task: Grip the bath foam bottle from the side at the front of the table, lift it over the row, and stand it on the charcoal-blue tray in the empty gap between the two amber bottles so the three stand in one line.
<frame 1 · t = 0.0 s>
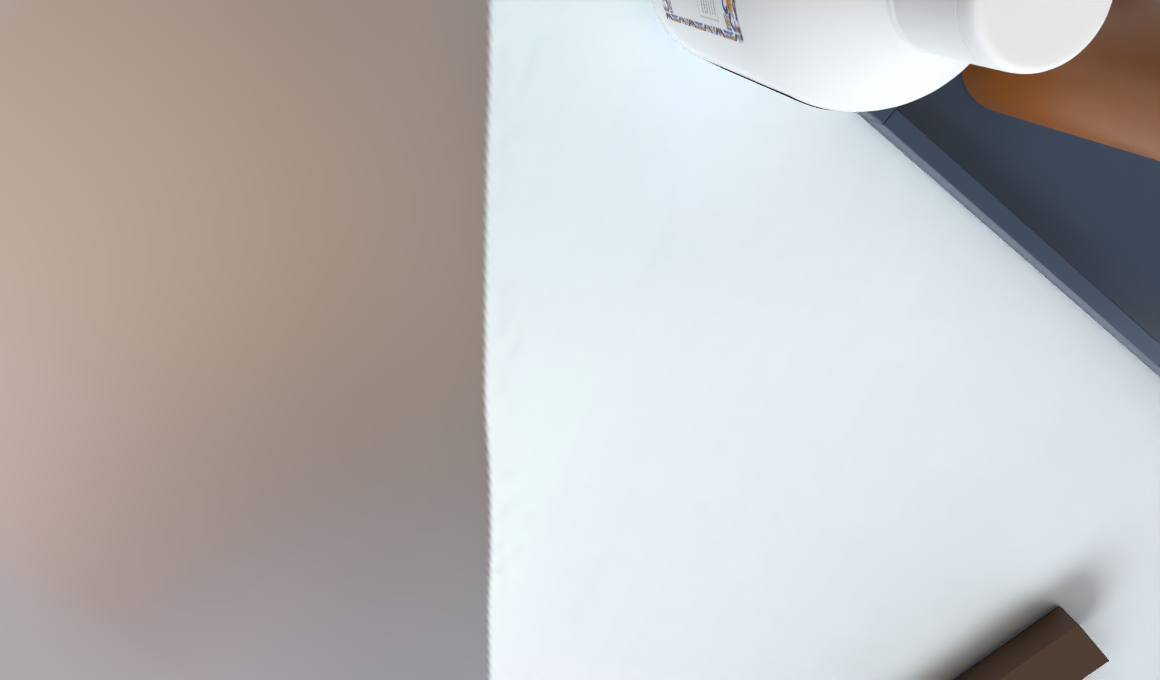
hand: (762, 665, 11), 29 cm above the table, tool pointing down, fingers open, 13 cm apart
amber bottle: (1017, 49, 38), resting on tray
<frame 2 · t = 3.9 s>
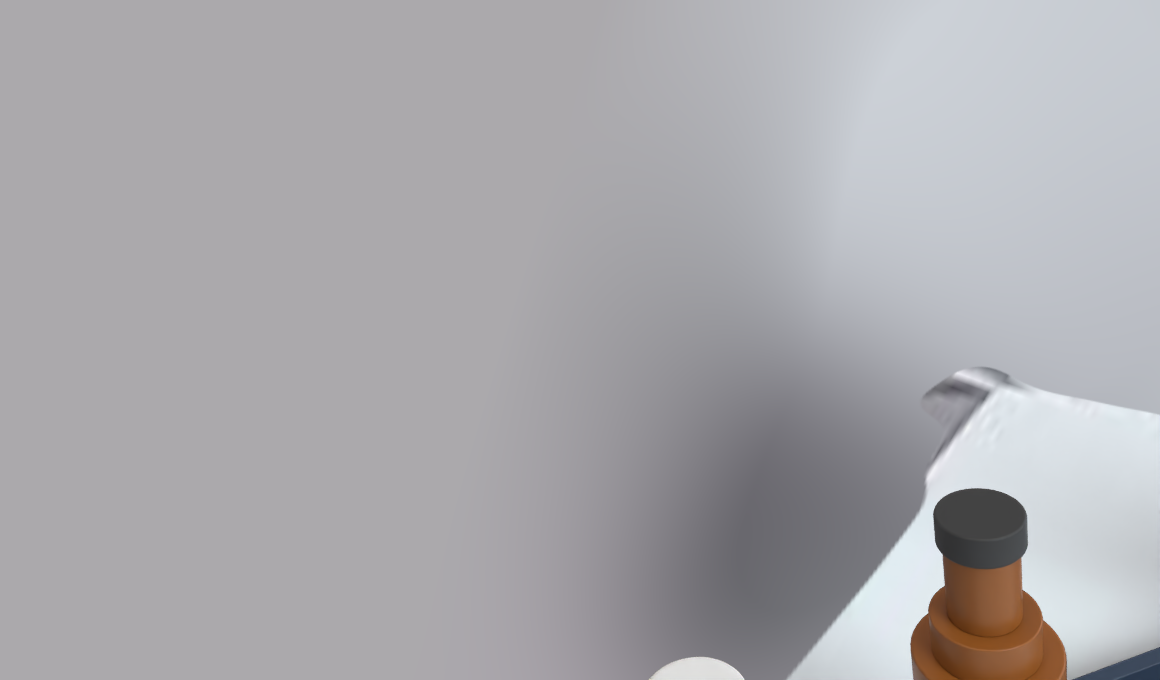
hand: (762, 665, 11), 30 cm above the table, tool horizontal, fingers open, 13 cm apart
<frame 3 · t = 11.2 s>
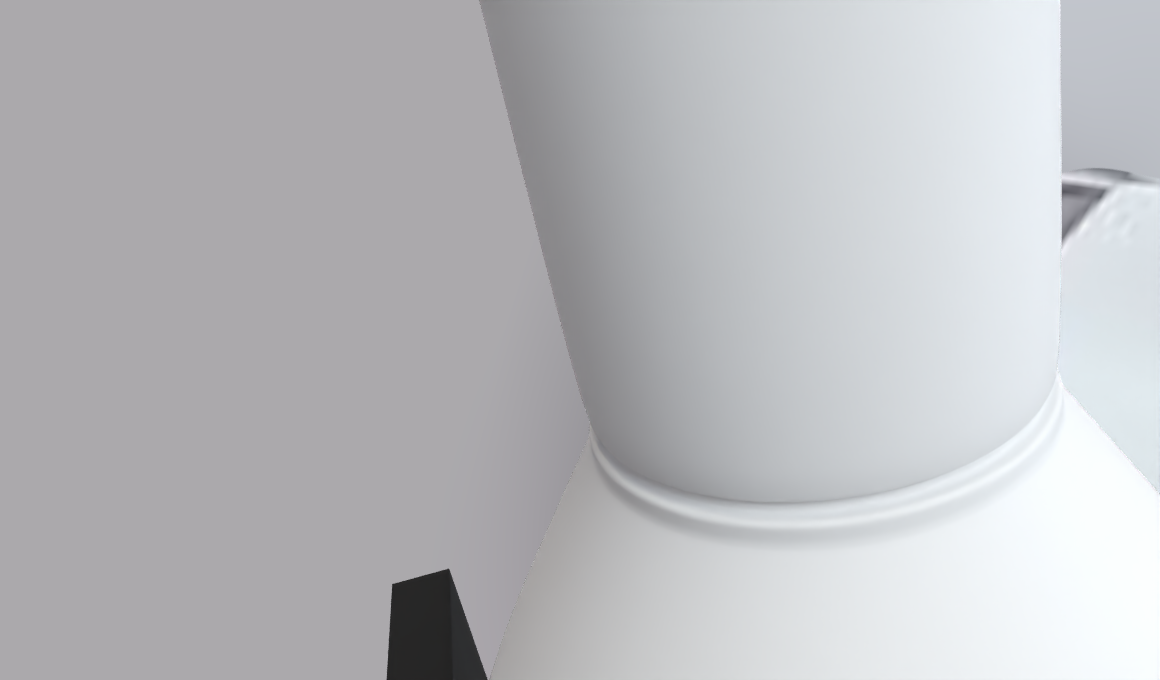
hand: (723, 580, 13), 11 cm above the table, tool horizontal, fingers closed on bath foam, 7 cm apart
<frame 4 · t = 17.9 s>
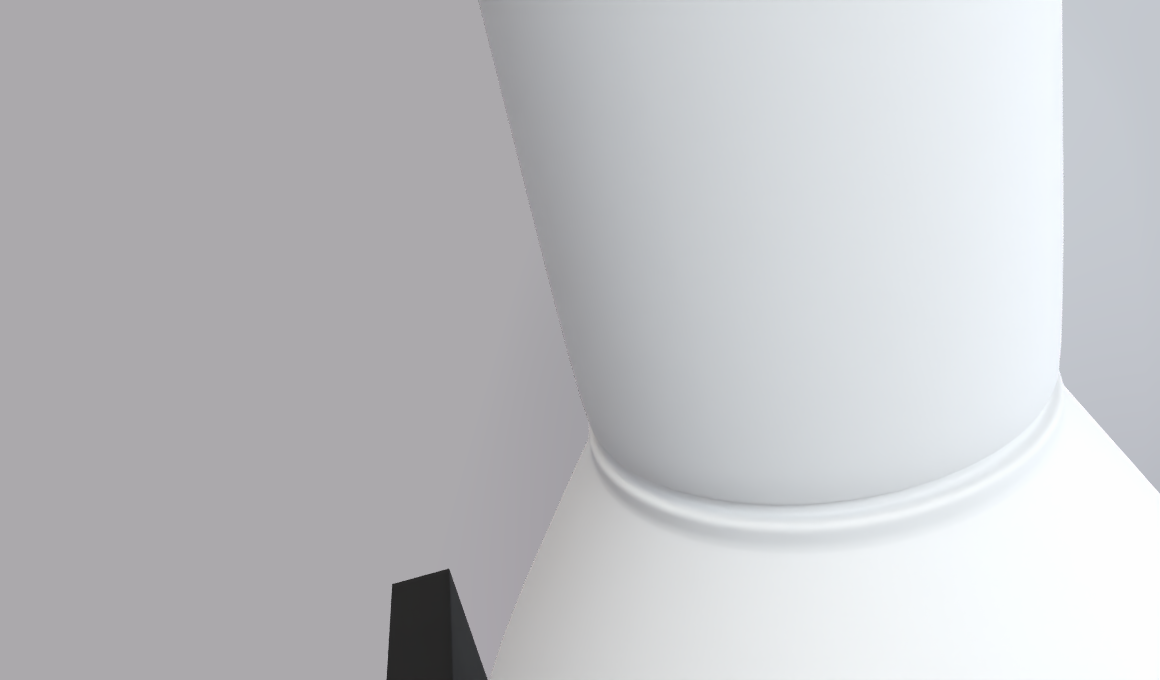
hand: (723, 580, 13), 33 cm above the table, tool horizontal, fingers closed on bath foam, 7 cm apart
when the fingers open (12 cm above the table, at t = 24.7 s): bath foam stays where it is, resting on tray.
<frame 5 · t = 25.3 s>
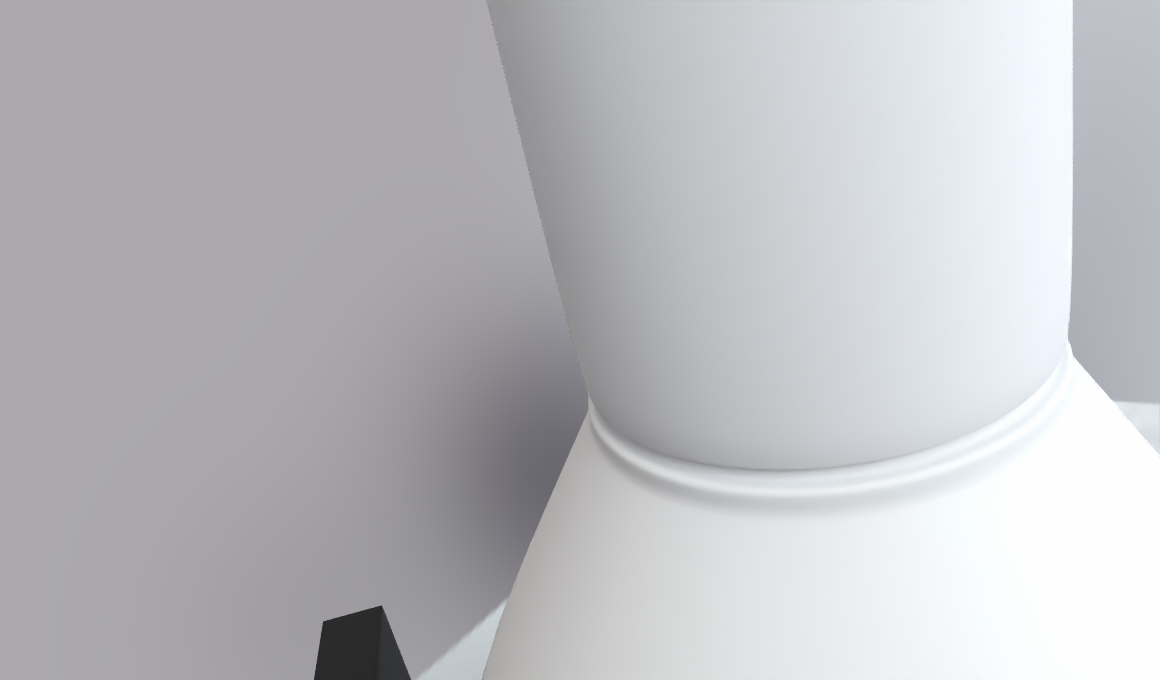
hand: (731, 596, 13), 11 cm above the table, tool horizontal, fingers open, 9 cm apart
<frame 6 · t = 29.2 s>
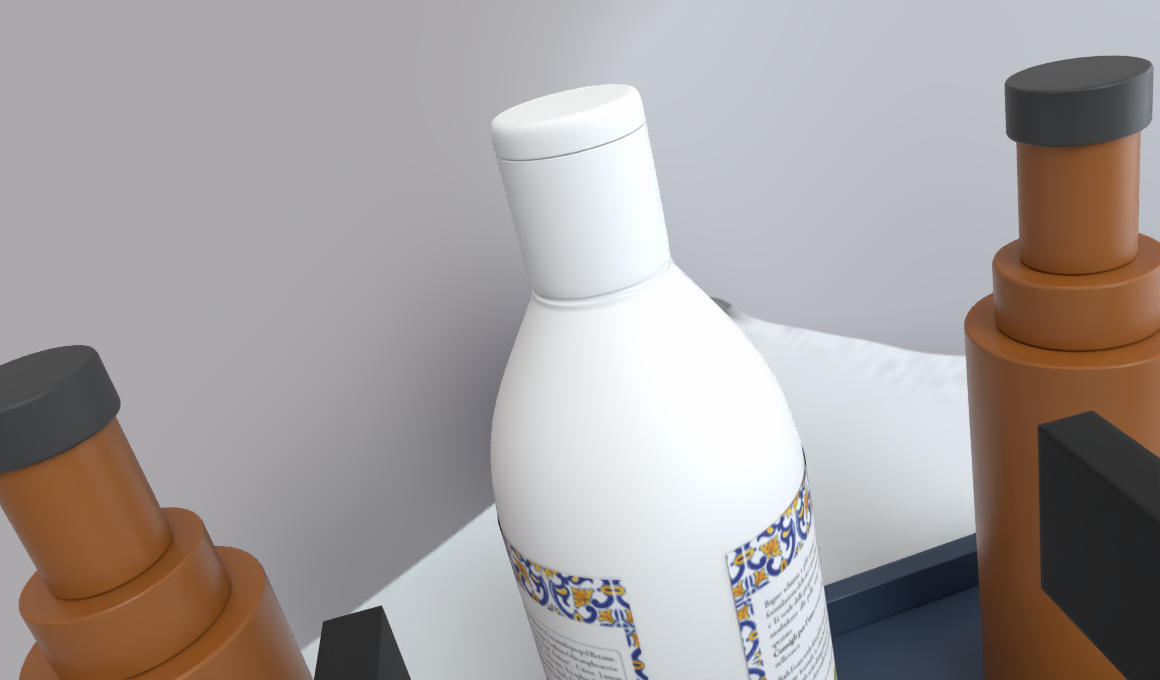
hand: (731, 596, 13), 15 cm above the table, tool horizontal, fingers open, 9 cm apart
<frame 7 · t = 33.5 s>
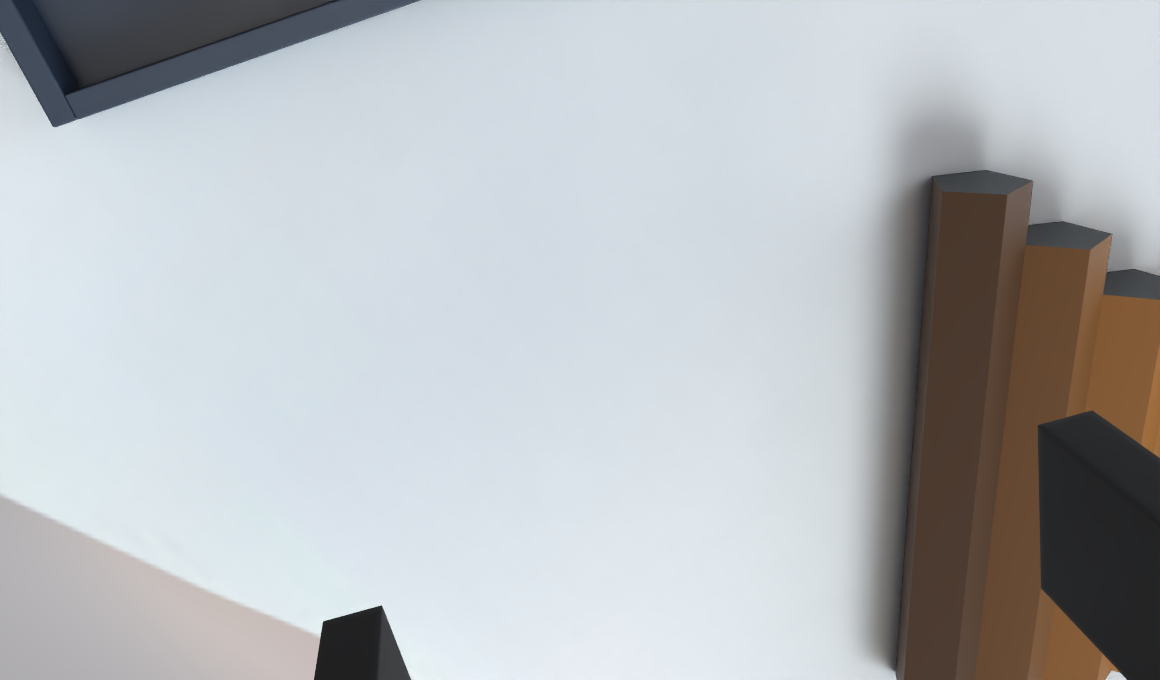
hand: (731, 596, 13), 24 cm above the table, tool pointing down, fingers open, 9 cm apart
pan flute: (1155, 416, 43), on the table
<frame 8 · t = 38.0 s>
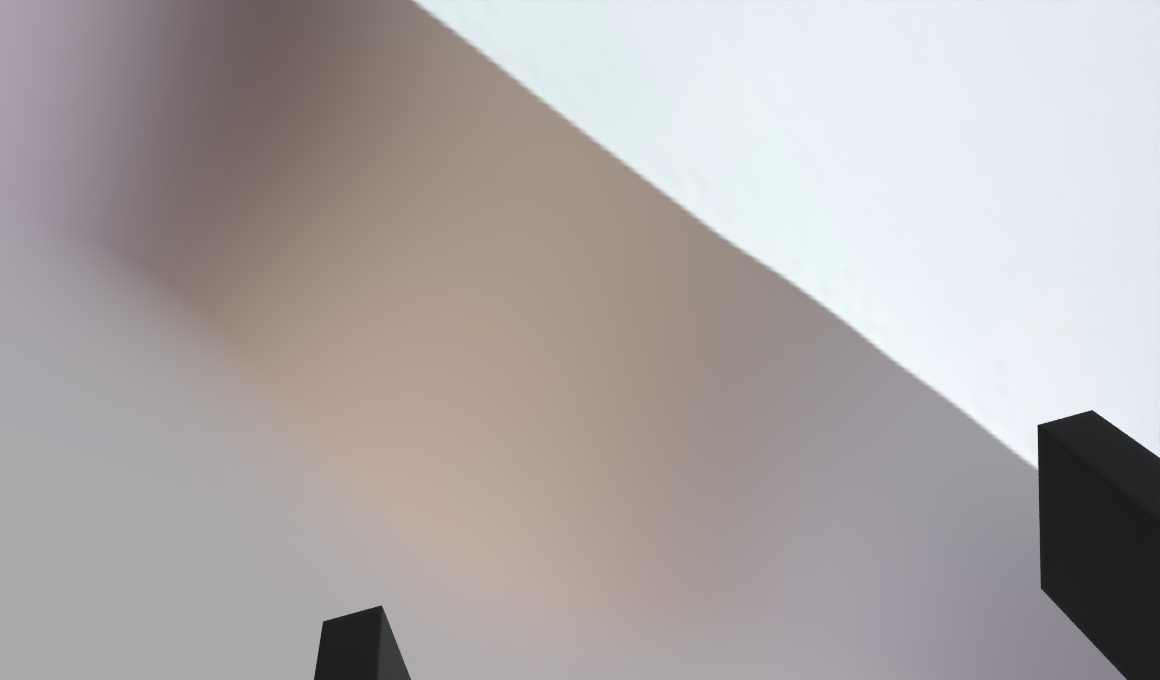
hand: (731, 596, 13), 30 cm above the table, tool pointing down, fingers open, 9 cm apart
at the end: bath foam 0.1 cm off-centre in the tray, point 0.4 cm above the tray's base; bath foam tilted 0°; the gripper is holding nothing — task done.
